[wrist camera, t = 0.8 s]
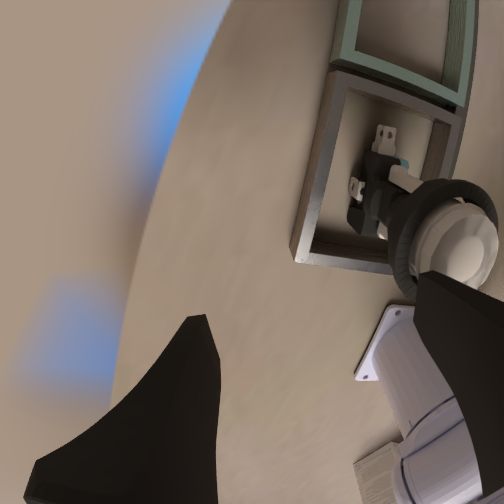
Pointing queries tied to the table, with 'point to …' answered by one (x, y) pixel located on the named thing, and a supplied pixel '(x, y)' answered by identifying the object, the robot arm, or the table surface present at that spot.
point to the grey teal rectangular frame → (338, 83)
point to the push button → (423, 219)
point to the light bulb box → (377, 475)
